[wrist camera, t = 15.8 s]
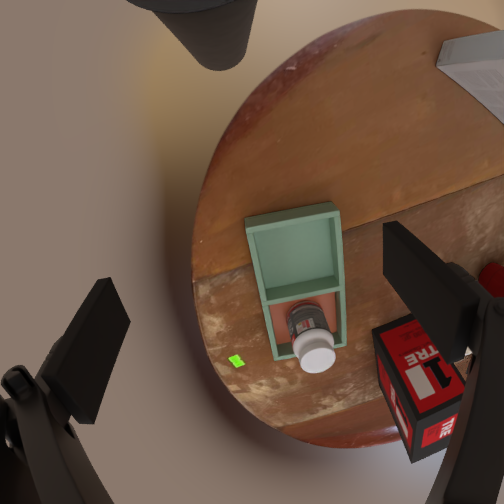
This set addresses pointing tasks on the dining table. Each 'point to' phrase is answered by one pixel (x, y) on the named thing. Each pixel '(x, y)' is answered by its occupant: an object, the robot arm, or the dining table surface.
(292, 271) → the divided tray
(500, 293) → the plastic cup
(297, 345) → the pill bottle
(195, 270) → the dining table surface
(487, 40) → the skincare box
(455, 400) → the cleaning product box
